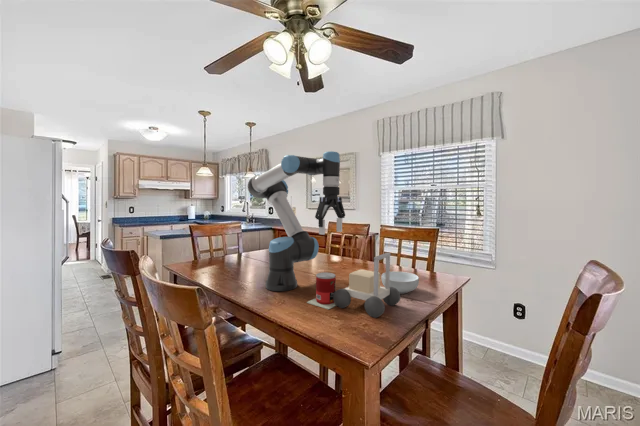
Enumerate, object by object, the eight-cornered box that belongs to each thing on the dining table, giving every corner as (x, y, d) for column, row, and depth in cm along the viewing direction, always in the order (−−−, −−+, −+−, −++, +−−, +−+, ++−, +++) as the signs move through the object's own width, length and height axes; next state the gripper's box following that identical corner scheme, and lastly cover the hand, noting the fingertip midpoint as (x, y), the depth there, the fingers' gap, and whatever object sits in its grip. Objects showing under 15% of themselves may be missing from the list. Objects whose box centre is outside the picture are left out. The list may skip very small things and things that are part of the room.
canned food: (333, 305, 109) (334, 277, 108) (314, 303, 111) (314, 276, 110) (336, 298, 116) (336, 272, 116) (318, 297, 118) (318, 271, 118)
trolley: (333, 305, 110) (333, 252, 109) (354, 294, 123) (355, 246, 122) (382, 319, 97) (383, 259, 96) (400, 305, 110) (401, 252, 109)
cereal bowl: (381, 284, 139) (381, 270, 138) (415, 286, 135) (416, 272, 135) (381, 295, 122) (381, 279, 122) (421, 298, 119) (421, 282, 118)
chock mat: (306, 302, 113) (306, 301, 113) (323, 295, 121) (323, 294, 121) (328, 309, 106) (328, 308, 106) (344, 301, 115) (344, 300, 115)
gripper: (320, 185, 114) (320, 236, 115) (352, 187, 133) (352, 231, 134) (307, 185, 118) (306, 234, 119) (339, 187, 138) (339, 230, 139)
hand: (330, 233), depth 127 cm, fingers open, 13 cm apart
